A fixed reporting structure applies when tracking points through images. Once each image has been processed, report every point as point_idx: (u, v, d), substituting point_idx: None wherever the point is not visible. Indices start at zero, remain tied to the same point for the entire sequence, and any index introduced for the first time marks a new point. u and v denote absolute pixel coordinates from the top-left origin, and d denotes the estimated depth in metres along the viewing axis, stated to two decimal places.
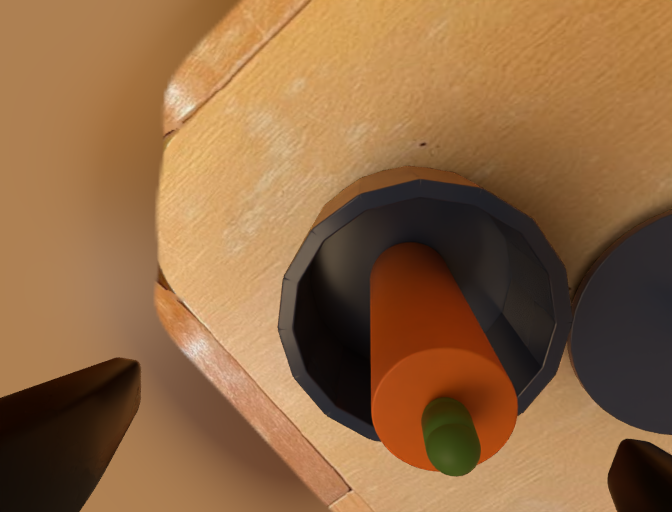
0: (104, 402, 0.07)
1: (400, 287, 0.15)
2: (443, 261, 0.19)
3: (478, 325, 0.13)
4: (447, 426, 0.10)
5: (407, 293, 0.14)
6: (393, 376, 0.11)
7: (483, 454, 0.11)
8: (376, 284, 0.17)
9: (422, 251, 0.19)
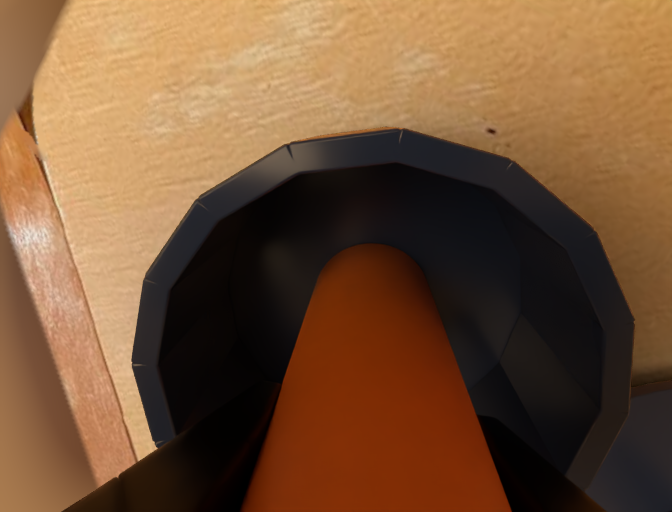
0: None
1: (378, 315, 0.08)
2: None
3: None
4: None
5: (390, 336, 0.08)
6: None
7: None
8: (333, 286, 0.11)
9: (416, 272, 0.12)
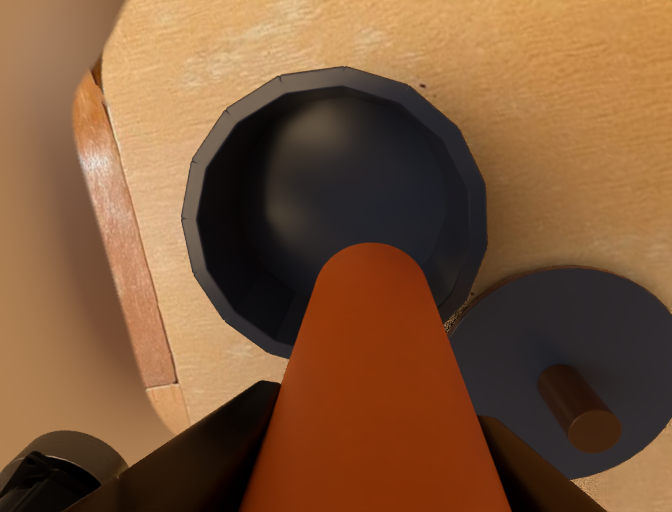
0: None
1: (378, 314, 0.08)
2: None
3: None
4: None
5: (390, 334, 0.08)
6: None
7: None
8: (333, 285, 0.11)
9: (415, 272, 0.12)
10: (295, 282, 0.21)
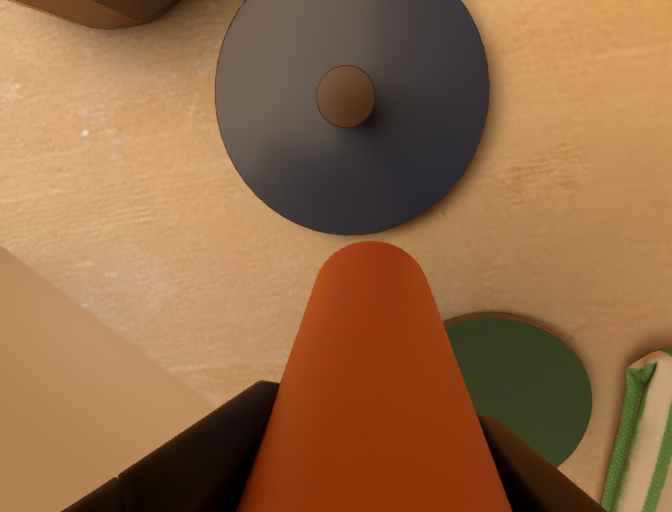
0: None
1: (378, 312, 0.08)
2: None
3: None
4: None
5: (389, 333, 0.08)
6: None
7: None
8: (333, 283, 0.11)
9: (415, 270, 0.12)
10: None
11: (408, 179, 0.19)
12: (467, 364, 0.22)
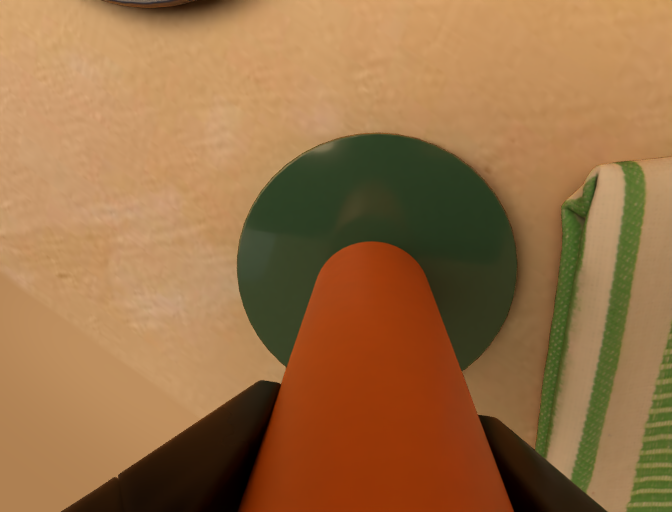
0: None
1: (378, 312, 0.08)
2: None
3: None
4: None
5: (391, 334, 0.08)
6: None
7: None
8: (333, 284, 0.11)
9: (416, 270, 0.12)
10: None
11: None
12: (339, 206, 0.15)
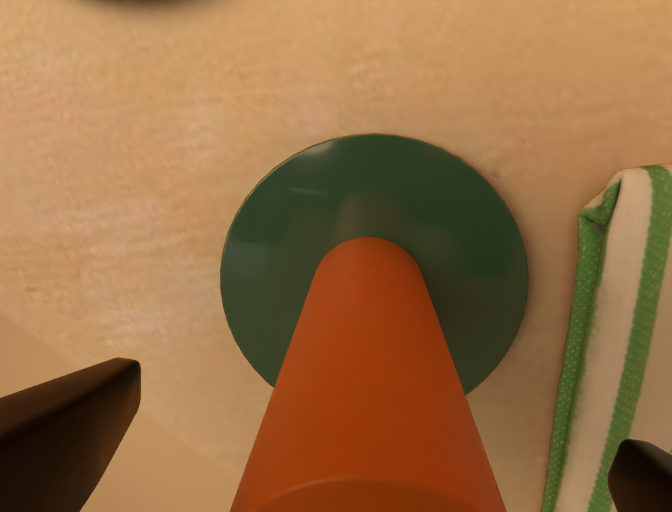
0: (104, 402, 0.07)
1: (373, 301, 0.09)
2: None
3: None
4: None
5: (384, 319, 0.08)
6: (309, 497, 0.05)
7: None
8: (331, 276, 0.11)
9: (410, 264, 0.13)
10: None
11: None
12: (332, 214, 0.14)
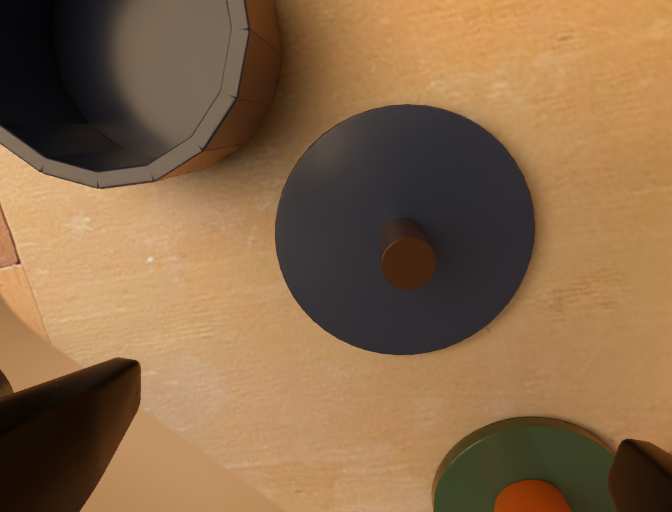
0: (104, 402, 0.07)
1: None
2: None
3: None
4: None
5: None
6: None
7: None
8: None
9: (568, 510, 0.21)
10: (121, 138, 0.20)
11: (457, 306, 0.20)
12: (511, 466, 0.23)
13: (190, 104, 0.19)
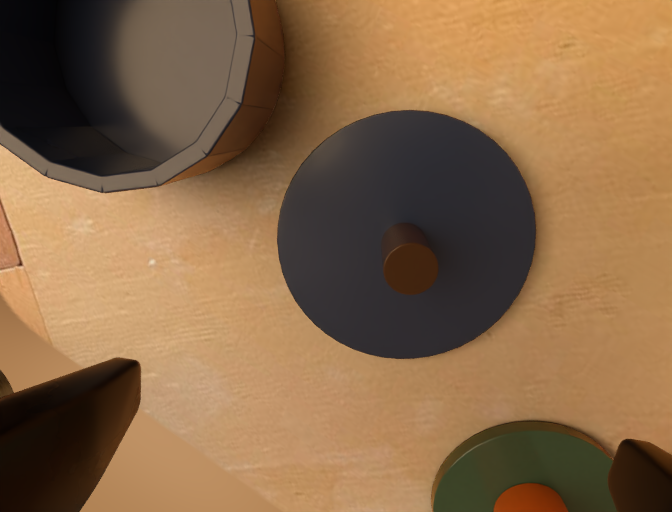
0: (104, 402, 0.07)
1: None
2: None
3: None
4: None
5: None
6: None
7: None
8: None
9: None
10: (124, 141, 0.20)
11: (458, 311, 0.20)
12: (511, 470, 0.23)
13: (193, 108, 0.19)
